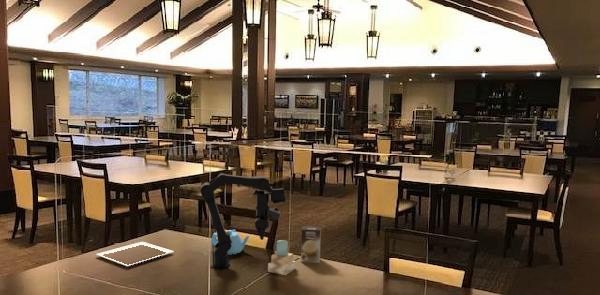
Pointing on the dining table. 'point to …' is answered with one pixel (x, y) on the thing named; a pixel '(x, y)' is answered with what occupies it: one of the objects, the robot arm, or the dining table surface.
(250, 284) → the dining table surface
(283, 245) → the teal cylinder
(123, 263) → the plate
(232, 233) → the teapot
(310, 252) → the coffee box
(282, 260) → the oak top block
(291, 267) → the birch base block
